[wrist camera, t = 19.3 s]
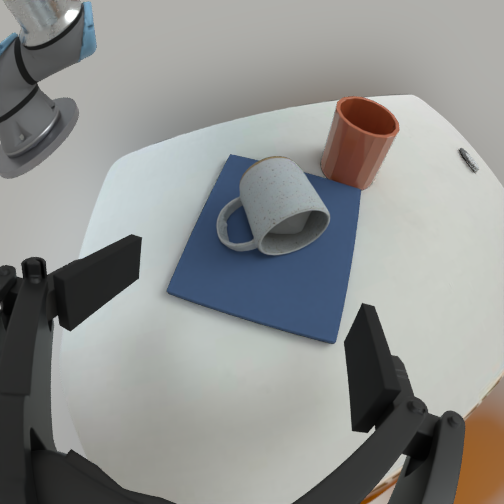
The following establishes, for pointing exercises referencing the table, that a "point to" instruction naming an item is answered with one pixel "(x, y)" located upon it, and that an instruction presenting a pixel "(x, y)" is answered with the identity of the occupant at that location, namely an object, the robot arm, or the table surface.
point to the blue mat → (271, 263)
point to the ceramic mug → (276, 208)
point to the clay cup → (358, 141)
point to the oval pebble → (469, 160)
